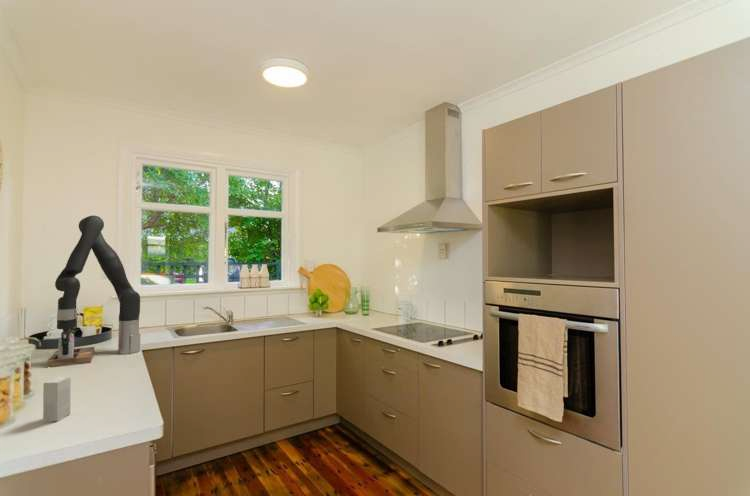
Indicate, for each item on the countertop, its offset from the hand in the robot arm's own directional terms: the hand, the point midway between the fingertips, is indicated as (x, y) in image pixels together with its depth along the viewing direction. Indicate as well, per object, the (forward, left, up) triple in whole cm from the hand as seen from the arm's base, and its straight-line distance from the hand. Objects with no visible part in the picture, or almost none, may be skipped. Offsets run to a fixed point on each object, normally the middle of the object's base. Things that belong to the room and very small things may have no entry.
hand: (66, 353), depth 188 cm
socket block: (+3, -6, -5) cm, 8 cm away
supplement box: (0, 0, -4) cm, 4 cm away
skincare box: (-63, +54, -5) cm, 83 cm away
